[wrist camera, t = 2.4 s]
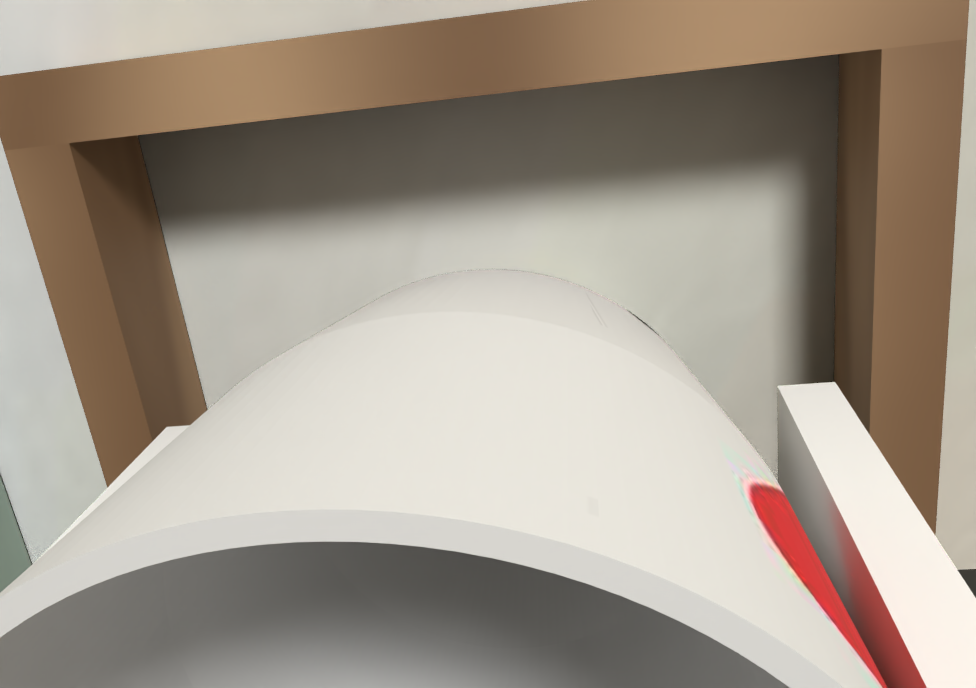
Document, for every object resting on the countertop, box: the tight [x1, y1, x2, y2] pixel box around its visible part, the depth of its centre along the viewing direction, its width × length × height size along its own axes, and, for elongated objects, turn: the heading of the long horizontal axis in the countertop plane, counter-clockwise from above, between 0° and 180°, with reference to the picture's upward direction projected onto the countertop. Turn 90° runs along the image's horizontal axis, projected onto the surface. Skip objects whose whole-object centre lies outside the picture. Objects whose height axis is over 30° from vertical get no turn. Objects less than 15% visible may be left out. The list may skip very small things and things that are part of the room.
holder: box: [0, 0, 969, 535], centre depth 15 cm, size 13×13×2 cm
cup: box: [0, 269, 888, 688], centre depth 11 cm, size 8×8×10 cm
